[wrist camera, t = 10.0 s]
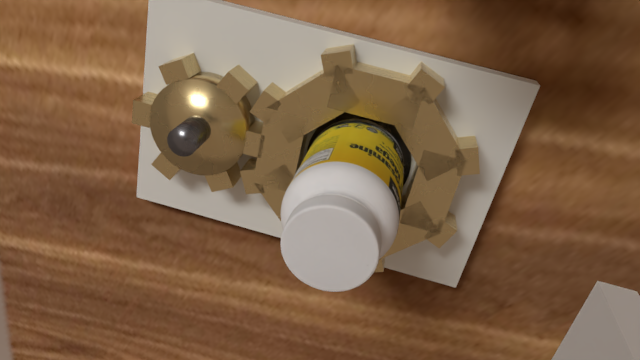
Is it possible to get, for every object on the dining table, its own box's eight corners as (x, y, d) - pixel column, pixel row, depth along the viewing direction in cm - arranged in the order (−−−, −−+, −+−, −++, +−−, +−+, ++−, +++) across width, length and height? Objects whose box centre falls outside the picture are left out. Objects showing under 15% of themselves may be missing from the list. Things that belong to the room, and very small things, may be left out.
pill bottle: (423, 173, 33) (424, 271, 23) (347, 218, 36) (318, 325, 26) (366, 95, 32) (342, 165, 22) (291, 149, 34) (238, 233, 24)
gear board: (158, -16, 33) (149, -15, 32) (536, 80, 31) (540, 85, 30) (144, 189, 39) (136, 197, 38) (454, 277, 38) (455, 287, 37)
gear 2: (272, 22, 31) (262, 28, 30) (506, 83, 30) (512, 92, 29) (238, 222, 38) (229, 236, 36) (431, 276, 37) (432, 294, 35)
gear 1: (151, 41, 33) (115, 55, 29) (282, 75, 33) (263, 94, 29) (143, 157, 37) (110, 184, 33) (261, 190, 36) (241, 221, 32)
